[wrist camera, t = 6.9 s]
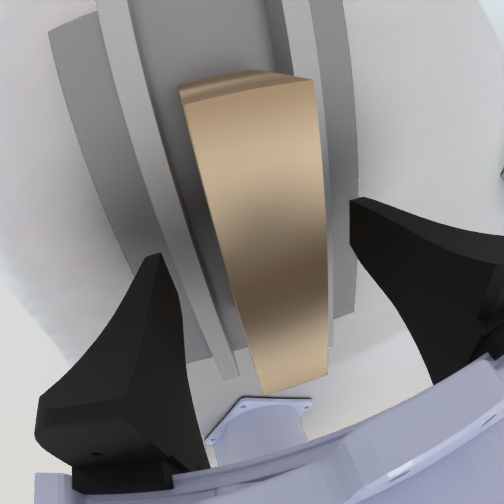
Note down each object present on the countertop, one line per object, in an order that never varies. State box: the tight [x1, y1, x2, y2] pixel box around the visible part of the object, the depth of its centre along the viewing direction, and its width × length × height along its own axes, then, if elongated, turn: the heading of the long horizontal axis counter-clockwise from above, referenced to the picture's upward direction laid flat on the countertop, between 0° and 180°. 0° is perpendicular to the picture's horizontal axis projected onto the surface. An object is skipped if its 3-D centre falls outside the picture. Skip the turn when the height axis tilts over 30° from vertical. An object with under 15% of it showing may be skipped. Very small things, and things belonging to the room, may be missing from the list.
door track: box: [48, 0, 358, 380], centre depth 14 cm, size 20×12×3 cm, turn 10°
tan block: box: [178, 69, 328, 396], centre depth 12 cm, size 12×3×6 cm, turn 10°
